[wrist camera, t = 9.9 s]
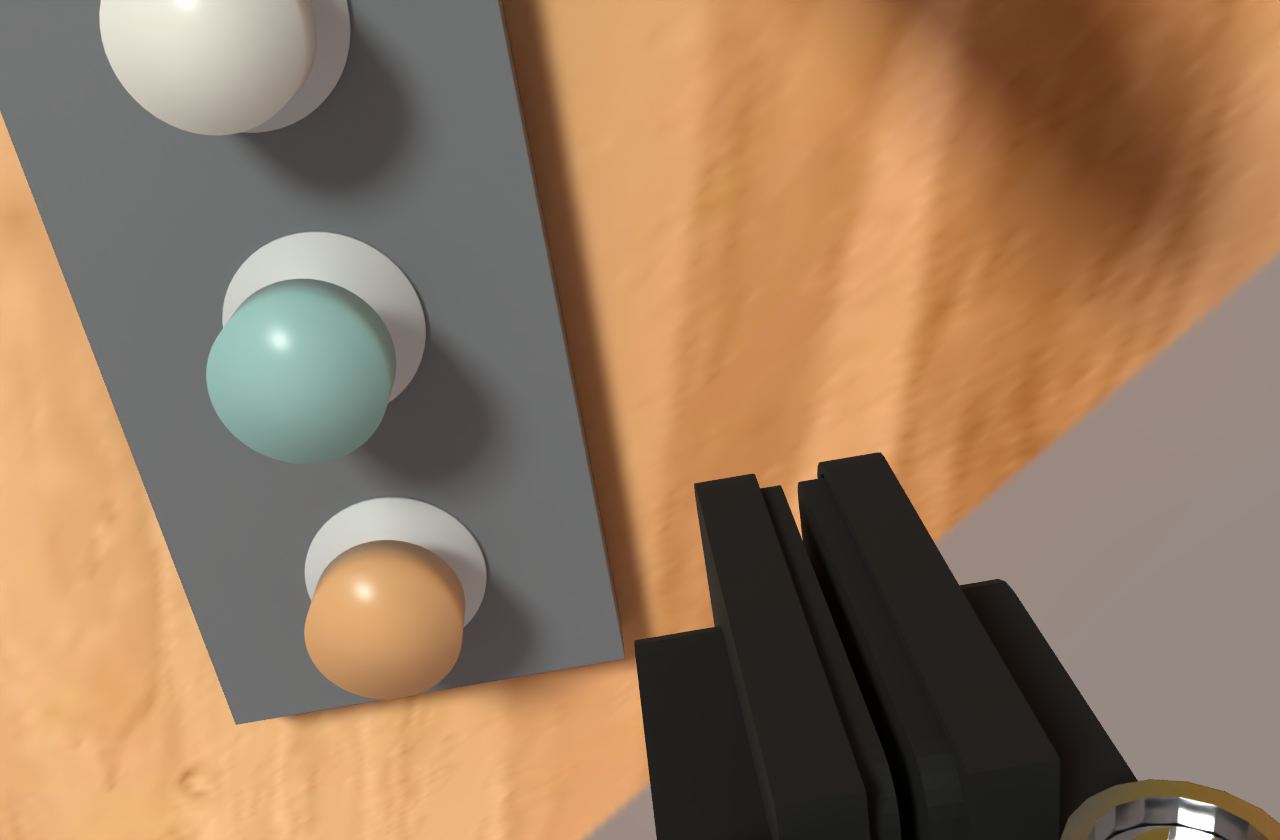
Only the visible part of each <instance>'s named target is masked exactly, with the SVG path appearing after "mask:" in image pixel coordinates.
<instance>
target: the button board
mask: <svg viewBox="0 0 1280 840" xmlns="http://www.w3.org/2000/svg"><path fill="white" fill-rule="evenodd" d="M310 2H311V5H312V8H313V11H314V15H315V21H316V28H317V47H316V54H315V59H314V63H313V66H312V69H311V72H310V74H309V76H308V78H307V80H306V82H305V84H304V85H303V86H302V88H301V89H300V91H299V92H298V93H297V94H296V95H295V96H294V97H293V98H292V99H291V101H289V102H288V103H287V104H286V105H285V106H284V107H283V108H282V109H281V110H279V111H278V112H277V113H276V114H275V115H274V116H272V117H271V118H270V119H268V120H267V121H266V122H264V123H262V124H260V125H259V126H257V127H255V128H252V129H250V130H247V131H244V132H240V133H236V134H231V135H221V136H217V135H203V134H196V133H192V132H188V131H185V130H181V129H179V128H177V127H174V126H172V125H169V124H167V123H166V122H164V121H162V120H160V119H158V118H157V117H155V116H154V115H153V114H151V113H150V112H148V111H147V110H146V109H144V108H143V107H142V106H141V105H140V104H139V103H138V102H137V101H136V100H135V99H134V98H133V97H132V96H131V95H130V94H129V93H128V92H127V90H126V89H125V88H124V86H123V85H122V84H121V82H120V81H119V79H118V78H117V76H116V74H115V73H114V71H113V69H112V67H111V65H110V63H109V60H108V58H107V55H106V53H105V50H104V46H103V42H102V38H101V31H100V17H99V11H100V3H101V0H0V111H1V114H2V116H3V119H4V121H5V124H6V127H7V129H8V132H9V135H10V137H11V140H12V142H13V145H14V148H15V150H16V153H17V155H18V158H19V161H20V163H21V166H22V168H23V171H24V174H25V176H26V179H27V181H28V184H29V187H30V189H31V192H32V194H33V197H34V200H35V202H36V205H37V207H38V210H39V213H40V215H41V218H42V220H43V223H44V226H45V228H46V231H47V234H48V236H49V239H50V241H51V244H52V247H53V249H54V252H55V254H56V257H57V260H58V262H59V265H60V267H61V270H62V273H63V275H64V278H65V280H66V283H67V286H68V288H69V291H70V293H71V296H72V299H73V301H74V304H75V306H76V309H77V312H78V314H79V317H80V319H81V322H82V325H83V327H84V330H85V333H86V335H87V338H88V340H89V343H90V346H91V348H92V351H93V353H94V356H95V359H96V361H97V364H98V366H99V369H100V372H101V374H102V377H103V379H104V382H105V385H106V387H107V390H108V392H109V395H110V398H111V400H112V403H113V405H114V408H115V411H116V413H117V416H118V418H119V421H120V424H121V426H122V429H123V432H124V434H125V437H126V439H127V442H128V445H129V447H130V450H131V452H132V455H133V458H134V460H135V463H136V465H137V468H138V471H139V473H140V476H141V478H142V481H143V484H144V486H145V489H146V491H147V494H148V497H149V499H150V502H151V504H152V507H153V510H154V512H155V515H156V518H157V520H158V523H159V525H160V528H161V531H162V533H163V536H164V538H165V541H166V544H167V546H168V549H169V551H170V554H171V557H172V559H173V562H174V564H175V567H176V570H177V572H178V575H179V577H180V580H181V583H182V585H183V588H184V590H185V593H186V596H187V598H188V601H189V603H190V606H191V609H192V611H193V614H194V617H195V619H196V622H197V624H198V627H199V630H200V632H201V635H202V637H203V640H204V643H205V645H206V648H207V650H208V653H209V656H210V658H211V661H212V663H213V666H214V669H215V671H216V674H217V676H218V679H219V682H220V684H221V687H222V689H223V692H224V695H225V697H226V700H227V702H228V705H229V708H230V710H231V713H232V716H233V718H234V721H235V723H236V725H237V724H243V723H249V722H255V721H260V720H266V719H272V718H278V717H284V716H290V715H296V714H302V713H308V712H314V711H319V710H325V709H331V708H337V707H343V706H349V705H355V704H361V703H367V702H373V701H378V700H384V699H374V698H368V697H363V696H359V695H356V694H353V693H351V692H348V691H346V690H344V689H342V688H340V687H338V686H337V685H335V684H334V683H332V682H331V681H330V680H328V679H327V678H326V677H325V676H324V675H323V674H322V673H321V672H320V671H319V670H318V668H317V667H316V666H315V664H314V663H313V661H312V660H311V658H310V656H309V653H308V651H307V648H306V644H305V636H304V629H305V622H306V618H307V614H308V611H309V608H310V605H311V602H312V599H313V595H314V592H315V589H316V586H317V583H318V581H319V578H320V576H321V574H322V573H323V571H324V569H325V568H326V567H327V566H328V565H329V563H330V562H331V561H332V560H333V559H335V558H336V557H337V556H338V555H340V554H341V553H343V552H344V551H346V550H348V549H350V548H352V547H354V546H357V545H359V544H362V543H366V542H371V541H378V540H396V541H404V542H408V543H413V544H415V545H418V546H421V547H423V548H425V549H428V550H430V551H431V552H433V553H435V554H436V555H438V556H439V557H440V558H442V559H443V560H444V561H445V562H446V563H447V564H448V565H449V566H450V567H451V568H452V569H453V571H454V572H455V573H456V575H457V576H458V578H459V580H460V582H461V584H462V587H463V590H464V595H465V605H466V608H465V618H464V627H463V636H462V644H461V650H460V653H459V657H458V659H457V661H456V663H455V665H454V666H453V668H452V669H451V671H450V672H449V673H448V674H447V675H446V676H445V677H444V678H443V679H442V680H441V681H440V682H439V683H437V684H436V685H434V686H433V687H431V688H430V689H428V690H426V691H423V692H421V693H426V692H432V691H438V690H443V689H449V688H455V687H461V686H467V685H473V684H479V683H485V682H491V681H497V680H502V679H508V678H514V677H520V676H526V675H532V674H538V673H544V672H550V671H556V670H561V669H567V668H573V667H579V666H585V665H591V664H597V663H603V662H609V661H615V660H620V659H625V655H624V645H623V636H622V626H621V621H620V615H619V610H618V605H617V600H616V595H615V589H614V584H613V579H612V574H611V568H610V563H609V558H608V553H607V548H606V542H605V537H604V532H603V527H602V521H601V516H600V511H599V506H598V501H597V495H596V490H595V485H594V480H593V474H592V469H591V464H590V459H589V454H588V448H587V443H586V438H585V433H584V428H583V422H582V417H581V412H580V407H579V401H578V396H577V391H576V386H575V381H574V375H573V370H572V365H571V360H570V354H569V349H568V344H567V339H566V334H565V328H564V323H563V318H562V313H561V307H560V302H559V297H558V292H557V287H556V281H555V276H554V271H553V266H552V260H551V255H550V250H549V245H548V240H547V234H546V229H545V224H544V219H543V214H542V208H541V203H540V198H539V193H538V187H537V182H536V177H535V172H534V167H533V161H532V156H531V151H530V146H529V140H528V135H527V130H526V125H525V120H524V114H523V109H522V104H521V99H520V93H519V88H518V83H517V78H516V73H515V67H514V62H513V57H512V52H511V46H510V41H509V36H508V31H507V26H506V20H505V15H504V10H503V5H502V0H310ZM289 279H315V280H322V281H325V282H329V283H333V284H335V285H338V286H340V287H343V288H345V289H347V290H349V291H351V292H352V293H354V294H356V295H357V296H359V297H360V298H361V299H363V300H364V301H365V302H366V303H367V304H369V305H370V306H371V307H372V308H373V309H374V310H375V312H376V313H377V314H378V315H379V316H380V318H381V319H382V321H383V322H384V324H385V325H386V327H387V329H388V331H389V333H390V335H391V338H392V341H393V344H394V348H395V353H396V375H395V380H394V384H393V387H392V391H391V394H390V398H389V401H388V404H387V408H386V411H385V414H384V416H383V419H382V421H381V423H380V424H379V426H378V428H377V429H376V431H375V432H374V433H373V435H372V436H371V437H370V438H369V439H368V440H367V441H366V442H365V443H364V444H363V445H362V446H360V447H359V448H357V449H356V450H354V451H353V452H351V453H349V454H347V455H345V456H343V457H340V458H338V459H335V460H332V461H327V462H323V463H315V464H296V463H288V462H284V461H279V460H275V459H273V458H270V457H267V456H264V455H262V454H260V453H258V452H256V451H254V450H253V449H251V448H250V447H248V446H246V445H245V444H243V443H242V442H241V441H240V440H239V439H237V438H236V437H235V436H234V435H233V434H232V433H231V432H230V431H229V430H228V429H227V428H226V426H225V425H224V424H223V422H222V421H221V420H220V418H219V416H218V415H217V413H216V411H215V409H214V407H213V405H212V402H211V400H210V396H209V393H208V389H207V381H206V368H207V362H208V357H209V354H210V351H211V348H212V346H213V344H214V342H215V340H216V338H217V336H218V335H219V334H220V332H221V331H222V329H223V328H224V326H225V325H226V324H227V322H228V321H229V319H230V318H231V317H232V315H233V314H234V312H235V311H236V310H237V308H238V307H239V306H240V305H241V304H242V303H243V302H244V301H245V300H246V299H247V298H248V297H249V296H250V295H252V294H253V293H254V292H256V291H258V290H259V289H261V288H263V287H265V286H267V285H270V284H273V283H275V282H279V281H284V280H289ZM419 694H420V693H419Z"/></svg>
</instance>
